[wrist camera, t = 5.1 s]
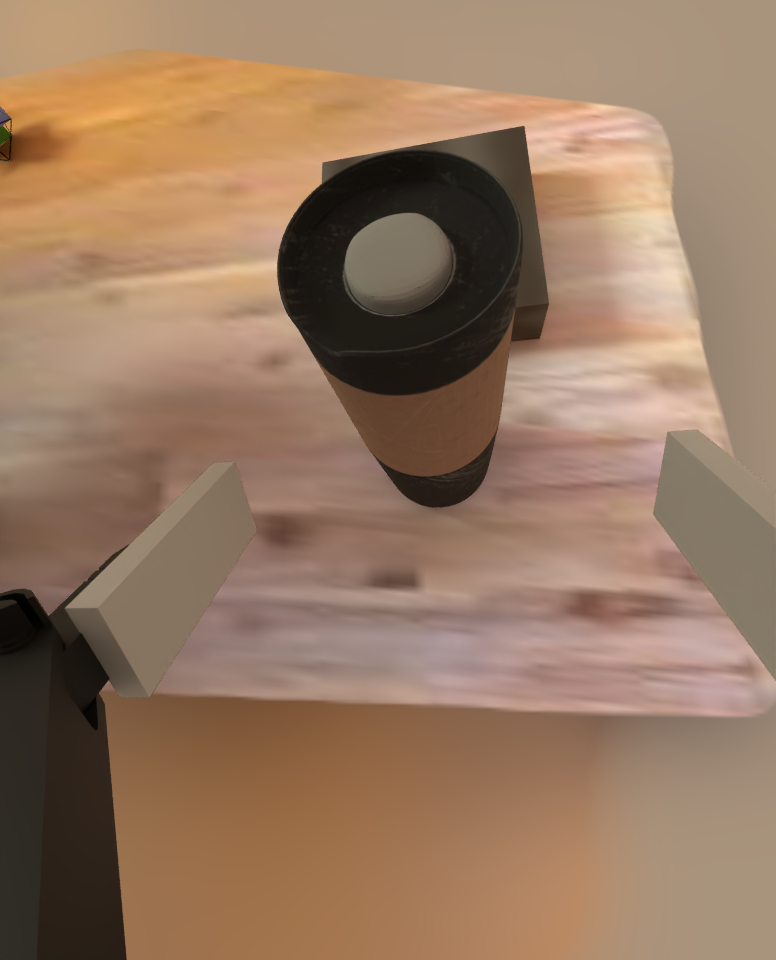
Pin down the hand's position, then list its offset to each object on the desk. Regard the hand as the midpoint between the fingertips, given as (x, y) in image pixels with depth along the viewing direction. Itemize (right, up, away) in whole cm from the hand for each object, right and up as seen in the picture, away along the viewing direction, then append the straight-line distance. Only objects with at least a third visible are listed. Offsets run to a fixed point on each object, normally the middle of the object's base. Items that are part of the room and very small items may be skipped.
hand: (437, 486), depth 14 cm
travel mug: (+2, +2, +18) cm, 18 cm away
